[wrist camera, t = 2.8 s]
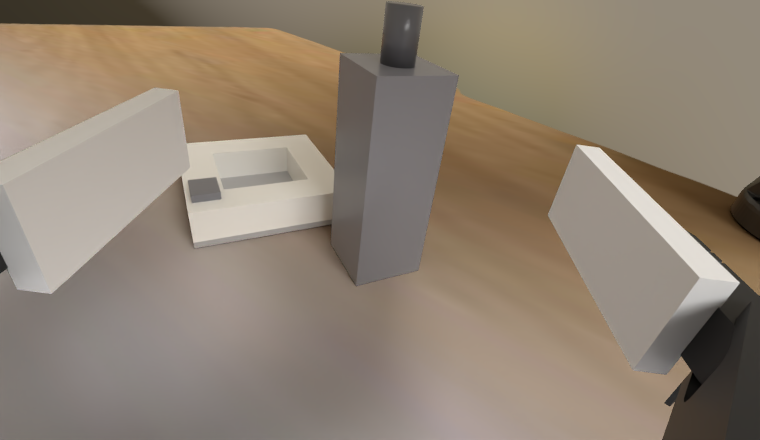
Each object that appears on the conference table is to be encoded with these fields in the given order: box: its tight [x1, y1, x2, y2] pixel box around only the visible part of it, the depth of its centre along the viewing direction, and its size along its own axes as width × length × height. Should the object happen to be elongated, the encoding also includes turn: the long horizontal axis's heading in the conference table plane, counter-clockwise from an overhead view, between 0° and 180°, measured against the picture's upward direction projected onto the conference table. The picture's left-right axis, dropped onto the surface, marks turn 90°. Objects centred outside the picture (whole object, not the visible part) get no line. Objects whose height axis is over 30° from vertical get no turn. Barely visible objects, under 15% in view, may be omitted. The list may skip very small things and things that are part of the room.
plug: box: [331, 1, 459, 286], centre depth 26 cm, size 5×5×17 cm
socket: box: [182, 135, 334, 248], centre depth 35 cm, size 12×12×4 cm
